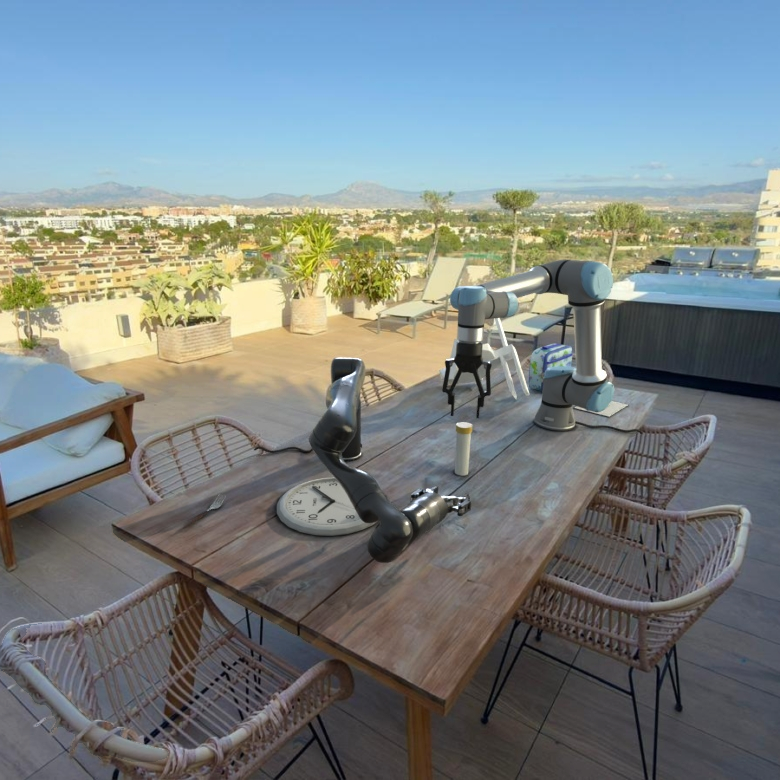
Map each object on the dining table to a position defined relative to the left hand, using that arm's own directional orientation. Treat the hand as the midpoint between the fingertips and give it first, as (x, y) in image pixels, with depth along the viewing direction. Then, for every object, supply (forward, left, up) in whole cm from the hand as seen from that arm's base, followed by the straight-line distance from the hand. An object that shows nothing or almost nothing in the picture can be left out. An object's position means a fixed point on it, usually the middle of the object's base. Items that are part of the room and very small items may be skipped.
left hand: (451, 493), depth 135 cm
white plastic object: (-9, +114, -8) cm, 114 cm away
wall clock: (-32, -3, -8) cm, 33 cm away
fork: (-61, -19, -8) cm, 65 cm away
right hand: (-2, +28, +11) cm, 31 cm away
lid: (-2, +28, +8) cm, 29 cm away
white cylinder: (-2, +28, -8) cm, 29 cm away
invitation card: (+44, +112, -8) cm, 120 cm away
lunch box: (+22, +133, -8) cm, 135 cm away
